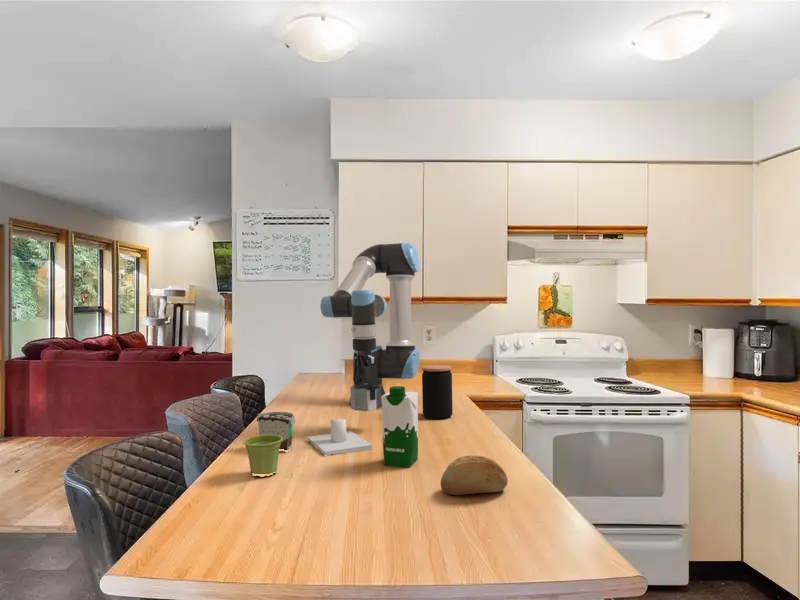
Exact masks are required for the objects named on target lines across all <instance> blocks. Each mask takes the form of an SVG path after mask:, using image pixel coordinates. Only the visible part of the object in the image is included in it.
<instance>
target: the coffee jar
mask: <svg viewBox="0 0 800 600" xmlns="http://www.w3.org/2000/svg"><path fill="white" fill-rule="evenodd" d="M452 369H453V366H451V365H447V364H428V365H423V366H422V367H421V370H422V374H421V385H422V386H421V389H422V397H421V398H422V399H421V400H422V415H423V417H424V418H425V419H426V420H431V419H432V421H441V420H442V421H443V419H444V420H449V419H451V417H452V416H453V412H454V411H453V409H454V408H453V373H452V371H451V370H452ZM448 418H449V419H448Z"/></svg>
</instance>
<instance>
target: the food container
mask: <svg viewBox="0 0 800 600" xmlns="http://www.w3.org/2000/svg"><path fill="white" fill-rule="evenodd" d="M257 422H258V423H257ZM256 423H257V424H258V431H259V432H258V434H259V436H260V435H278V436H281V437H282V441H281V445H280V447H279V449H284V450H289V449H290V448H291V449H292V446H293V445H292V444H293V443H292V441H293V430H294V429H293V428H294V424H296V418H295V416H294V414H293V413H292V412H286V411H270V412H263V413H258V414H257V417H256Z"/></svg>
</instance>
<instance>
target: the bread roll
mask: <svg viewBox="0 0 800 600" xmlns="http://www.w3.org/2000/svg"><path fill="white" fill-rule="evenodd" d="M507 486H508V476H507V474H506V472H505V471H504V469H503V467H502V466H500V464H498V462H496V461H495V460H493V459H491V458H489V457H487V456H483V455H464V456H460V457H458V458H455V459H454V460H453V461H451V462H450V463H449V464H448V466H447V467H446V469H445V471H444V472H443V474H442V475H441V478H440V487H441V491H442V492H444V493H445V494H447V495H449V496H460V495H474V494H484V493H486V494H488V493H497V492H501V491H503V490H504V489H505V488H506V487H507Z"/></svg>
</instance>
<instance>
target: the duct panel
mask: <svg viewBox="0 0 800 600" xmlns="http://www.w3.org/2000/svg"><path fill="white" fill-rule="evenodd" d="M306 439H308V440H309V441H310V442H311V443H312V444H313V445H314V446H316V447H317V448H318V449H319V450H320V451H321V452H322V453H323V454H324V455H330V456H332V455H331V454H336V455H341V454H340V453H343V454H348V453H347V452H350V453H355V452H354V451H356V452H360V451H361V450H363V451H369V450H373V444H372V443H371V442H369V441H367V440H365V439H364V438H362V437H361V436H359V435H358V434H356V433H355V432H353V431H351V430H348V431H347V419H346V418H334V419H330V433H326V434H318V435H310V436H309V435H308V436H306ZM311 443H310V444H311ZM312 444H311V445H312ZM313 445H312V446H313ZM314 446H313V447H314ZM318 449H317V450H318ZM368 449H369V450H368ZM319 450H318V451H319ZM320 451H319V452H320ZM321 452H320V453H321ZM322 453H321V454H322ZM323 454H322V455H323ZM324 455H323V456H324Z"/></svg>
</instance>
